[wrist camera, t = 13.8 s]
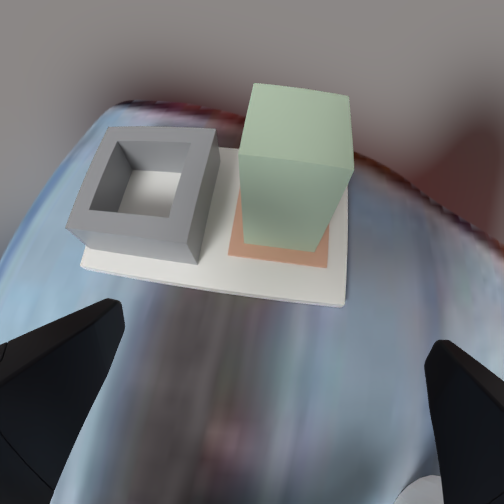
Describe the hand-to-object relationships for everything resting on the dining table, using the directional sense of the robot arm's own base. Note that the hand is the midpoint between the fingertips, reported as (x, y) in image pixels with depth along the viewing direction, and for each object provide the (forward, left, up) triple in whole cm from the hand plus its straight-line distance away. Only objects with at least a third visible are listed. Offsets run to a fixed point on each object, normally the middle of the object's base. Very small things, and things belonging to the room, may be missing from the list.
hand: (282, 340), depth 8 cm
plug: (+9, +5, -12) cm, 16 cm away
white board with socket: (+6, +9, -14) cm, 18 cm away
